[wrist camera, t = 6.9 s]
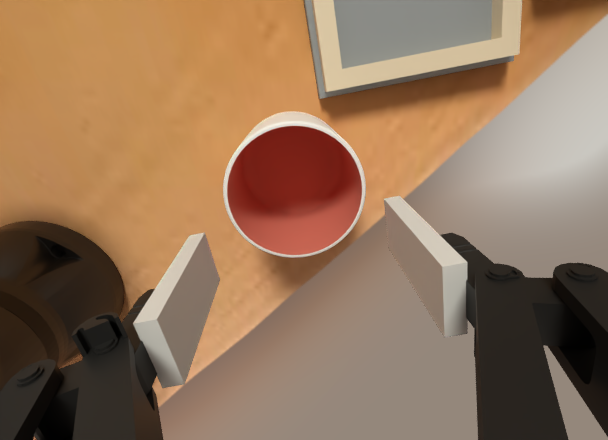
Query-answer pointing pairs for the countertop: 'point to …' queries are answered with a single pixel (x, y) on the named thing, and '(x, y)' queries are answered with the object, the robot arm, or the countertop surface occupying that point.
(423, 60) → the tray
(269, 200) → the cup
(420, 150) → the countertop surface
